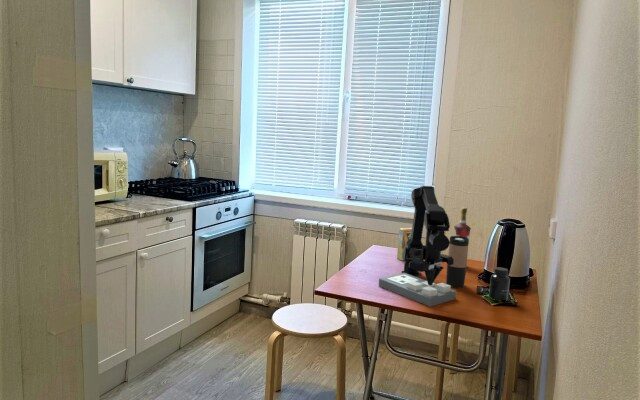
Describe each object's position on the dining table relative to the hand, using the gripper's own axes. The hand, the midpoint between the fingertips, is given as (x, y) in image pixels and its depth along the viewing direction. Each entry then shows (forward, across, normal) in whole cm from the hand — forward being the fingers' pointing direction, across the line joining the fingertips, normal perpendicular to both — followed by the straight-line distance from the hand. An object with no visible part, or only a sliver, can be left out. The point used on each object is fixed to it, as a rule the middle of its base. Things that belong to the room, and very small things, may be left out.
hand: (429, 284), depth 172 cm
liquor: (+7, -50, -22) cm, 55 cm away
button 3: (+5, 0, 0) cm, 5 cm away
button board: (+6, -4, -9) cm, 12 cm away
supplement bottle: (+7, -26, +13) cm, 30 cm away
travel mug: (+7, -25, -6) cm, 27 cm away
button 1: (+5, 0, -7) cm, 8 cm away
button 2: (+6, -8, -7) cm, 12 cm away
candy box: (+7, -37, -43) cm, 57 cm away
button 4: (+5, -8, 0) cm, 9 cm away
